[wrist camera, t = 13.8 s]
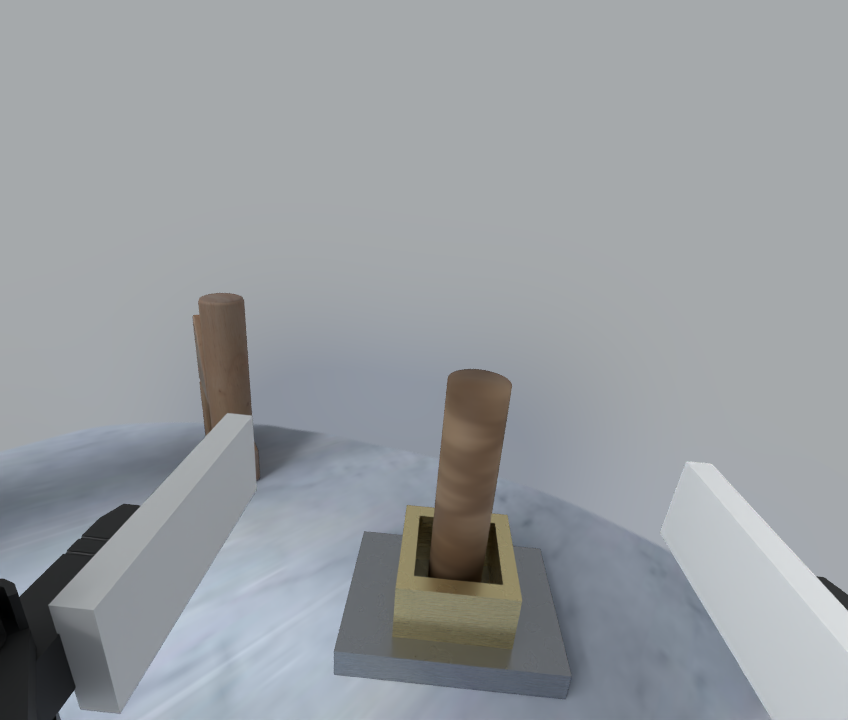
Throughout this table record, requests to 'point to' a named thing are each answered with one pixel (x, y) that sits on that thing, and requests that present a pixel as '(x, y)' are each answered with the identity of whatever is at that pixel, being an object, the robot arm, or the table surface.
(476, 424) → the wooden cylinder
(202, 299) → the wooden block stack
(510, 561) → the yellow socket on base
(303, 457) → the table surface
